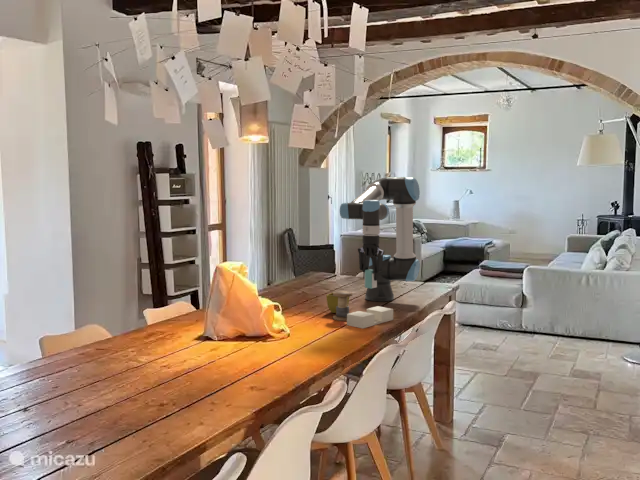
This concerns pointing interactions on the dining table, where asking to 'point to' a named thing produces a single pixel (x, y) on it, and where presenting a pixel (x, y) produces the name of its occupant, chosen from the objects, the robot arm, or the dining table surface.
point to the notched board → (370, 317)
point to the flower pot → (333, 302)
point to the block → (368, 278)
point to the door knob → (342, 305)
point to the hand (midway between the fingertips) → (370, 286)
